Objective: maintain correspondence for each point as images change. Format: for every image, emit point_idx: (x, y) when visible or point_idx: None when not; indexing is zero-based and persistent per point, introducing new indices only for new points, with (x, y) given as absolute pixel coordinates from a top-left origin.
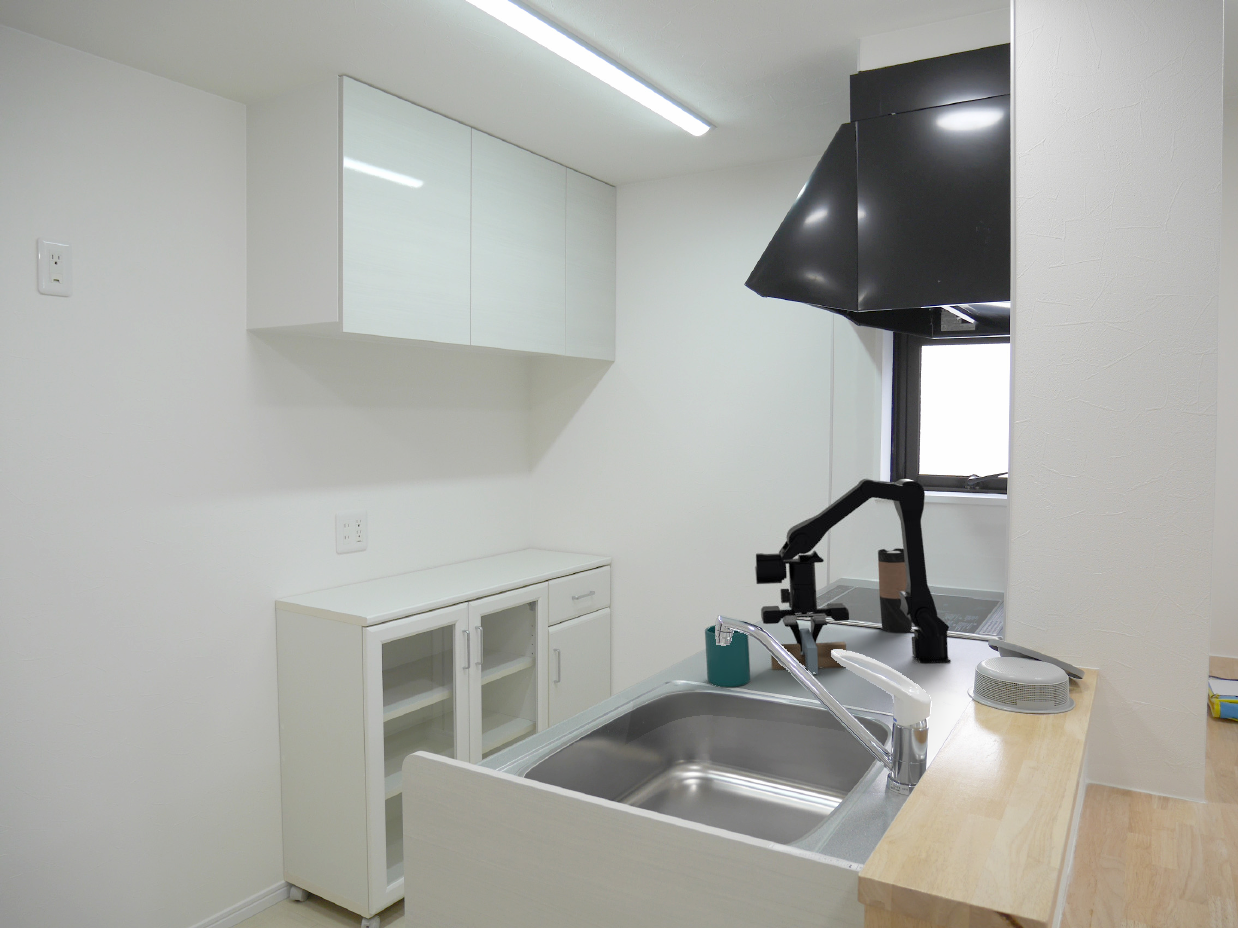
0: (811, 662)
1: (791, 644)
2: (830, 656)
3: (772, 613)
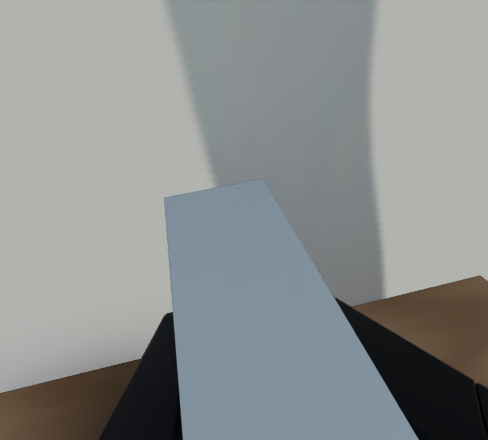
0: None
1: None
2: None
3: None
